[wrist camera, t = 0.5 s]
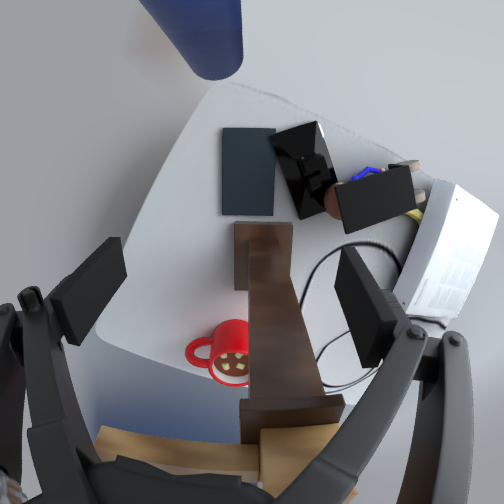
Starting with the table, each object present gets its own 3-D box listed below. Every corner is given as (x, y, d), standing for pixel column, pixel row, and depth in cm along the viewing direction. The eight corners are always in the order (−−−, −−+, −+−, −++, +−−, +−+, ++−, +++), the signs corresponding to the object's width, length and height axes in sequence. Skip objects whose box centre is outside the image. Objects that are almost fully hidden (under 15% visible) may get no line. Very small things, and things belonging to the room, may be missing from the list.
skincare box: (479, 206, 40) (434, 176, 35) (500, 215, 35) (459, 183, 30) (439, 305, 46) (387, 299, 42) (455, 320, 41) (405, 317, 37)
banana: (435, 219, 38) (424, 241, 40) (429, 216, 40) (419, 237, 41) (400, 197, 37) (388, 221, 38) (394, 195, 39) (383, 218, 40)
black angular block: (268, 136, 35) (273, 133, 31) (318, 120, 35) (328, 116, 31) (299, 220, 40) (307, 228, 35) (345, 202, 39) (358, 209, 35)
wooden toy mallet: (118, 452, 13) (102, 504, 9) (92, 407, 12) (64, 469, 8) (320, 464, 14) (331, 520, 9) (339, 422, 12) (358, 493, 8)
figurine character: (395, 154, 38) (312, 181, 37) (427, 155, 31) (337, 186, 30) (403, 195, 40) (325, 226, 39) (435, 202, 33) (350, 240, 32)
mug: (186, 318, 45) (176, 348, 38) (259, 319, 45) (261, 349, 38) (192, 354, 48) (184, 385, 41) (259, 355, 48) (261, 387, 41)
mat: (223, 128, 35) (222, 127, 35) (275, 129, 36) (275, 128, 35) (222, 214, 40) (222, 215, 39) (272, 214, 40) (273, 215, 39)
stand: (235, 285, 43) (218, 481, 14) (234, 221, 40) (203, 395, 11) (287, 286, 43) (334, 475, 14) (291, 222, 40) (380, 386, 11)
